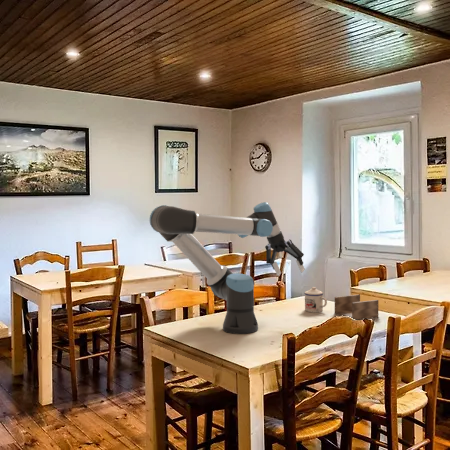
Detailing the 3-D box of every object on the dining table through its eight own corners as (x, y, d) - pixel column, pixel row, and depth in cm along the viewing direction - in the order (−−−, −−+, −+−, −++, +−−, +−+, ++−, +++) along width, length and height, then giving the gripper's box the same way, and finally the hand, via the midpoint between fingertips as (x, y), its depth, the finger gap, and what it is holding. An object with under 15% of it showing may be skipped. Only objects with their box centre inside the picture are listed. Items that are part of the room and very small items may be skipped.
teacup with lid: (300, 310, 265) (300, 287, 265) (311, 307, 272) (311, 284, 271) (321, 314, 257) (321, 290, 256) (331, 311, 264) (331, 287, 263)
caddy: (353, 320, 245) (353, 303, 244) (334, 313, 259) (334, 297, 258) (378, 317, 250) (378, 300, 250) (358, 310, 264) (358, 294, 263)
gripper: (299, 225, 245) (316, 265, 250) (256, 234, 261) (273, 272, 266) (292, 232, 240) (310, 273, 245) (248, 241, 256) (266, 279, 261)
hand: (291, 272), depth 255 cm, fingers open, 13 cm apart
